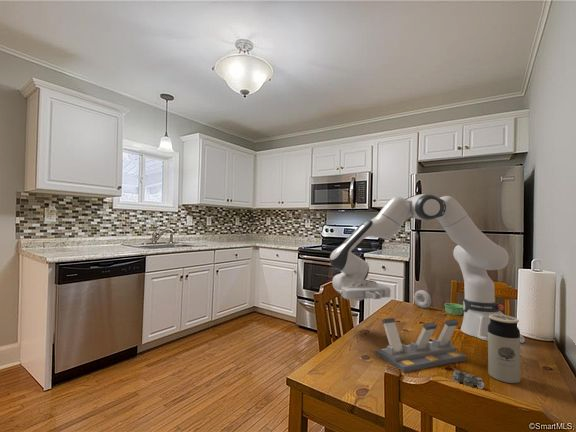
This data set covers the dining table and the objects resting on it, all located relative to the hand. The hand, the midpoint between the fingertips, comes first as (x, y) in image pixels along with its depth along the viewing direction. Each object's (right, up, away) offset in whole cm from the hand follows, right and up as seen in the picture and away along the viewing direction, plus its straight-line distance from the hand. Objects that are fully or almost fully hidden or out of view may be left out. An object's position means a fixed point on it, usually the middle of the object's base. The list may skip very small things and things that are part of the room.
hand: (377, 296), depth 111 cm
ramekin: (+55, -22, +48) cm, 76 cm away
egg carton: (+16, -19, -28) cm, 38 cm away
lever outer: (+3, -15, -10) cm, 19 cm away
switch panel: (+13, -19, -7) cm, 24 cm away
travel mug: (+32, -19, -20) cm, 43 cm away
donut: (+43, -22, +58) cm, 75 cm away
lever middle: (+13, -15, -7) cm, 21 cm away
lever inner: (+22, -16, -3) cm, 27 cm away
